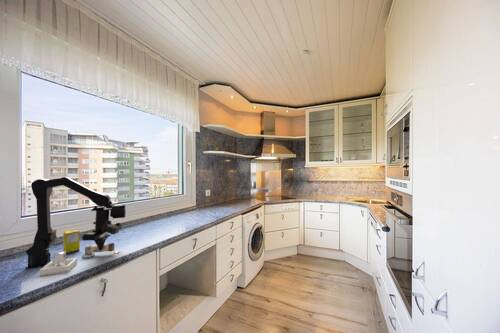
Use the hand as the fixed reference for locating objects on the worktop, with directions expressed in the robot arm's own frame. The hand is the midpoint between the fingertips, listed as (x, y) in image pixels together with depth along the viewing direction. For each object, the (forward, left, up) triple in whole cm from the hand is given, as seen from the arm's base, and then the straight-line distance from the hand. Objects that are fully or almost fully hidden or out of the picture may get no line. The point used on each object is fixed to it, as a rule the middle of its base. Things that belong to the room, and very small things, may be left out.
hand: (100, 250), depth 108 cm
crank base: (0, +3, -3) cm, 4 cm away
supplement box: (-17, +15, -3) cm, 23 cm away
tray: (-13, -10, -3) cm, 17 cm away
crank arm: (-1, +2, -2) cm, 3 cm away
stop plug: (-13, -10, -3) cm, 17 cm away
